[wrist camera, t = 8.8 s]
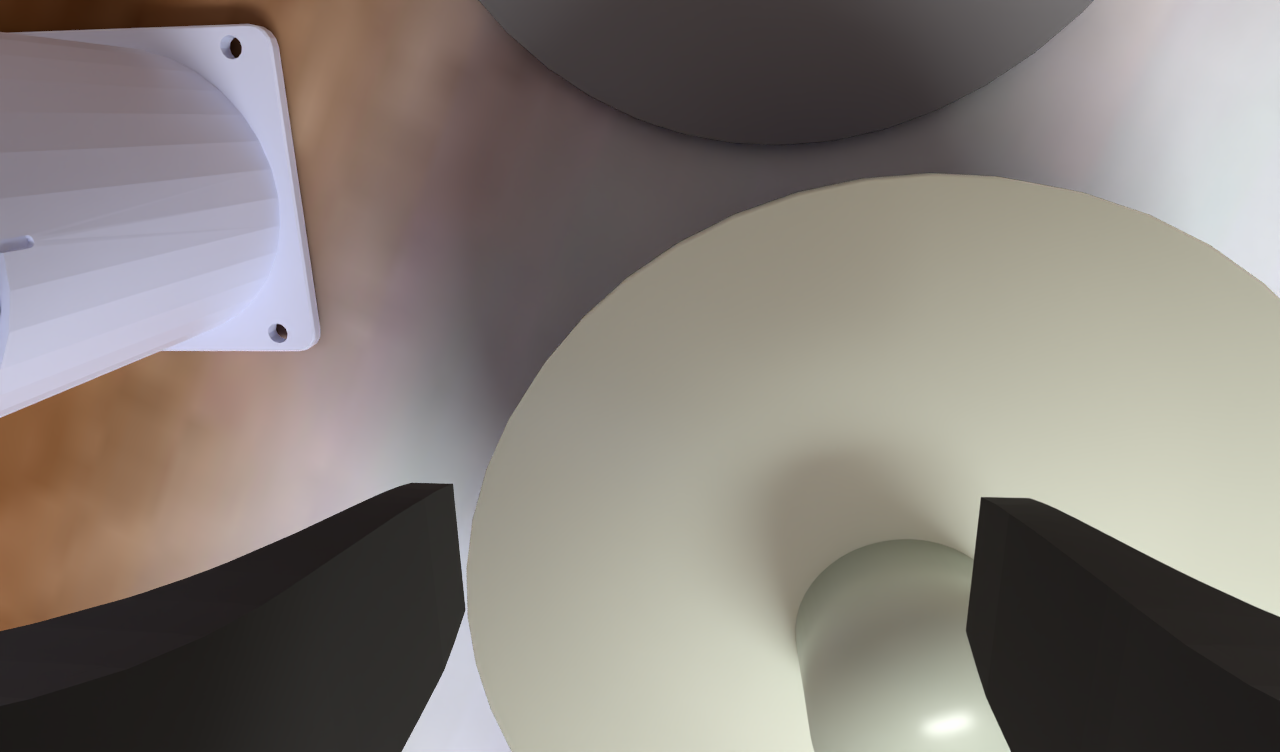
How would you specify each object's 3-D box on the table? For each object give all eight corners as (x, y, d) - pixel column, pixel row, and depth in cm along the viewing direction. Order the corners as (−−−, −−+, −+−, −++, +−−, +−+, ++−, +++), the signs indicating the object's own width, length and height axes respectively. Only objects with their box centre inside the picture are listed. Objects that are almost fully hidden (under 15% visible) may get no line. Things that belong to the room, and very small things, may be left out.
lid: (507, 899, 20) (467, 1047, 16) (439, 180, 14) (363, 197, 11) (1252, 948, 18) (1366, 1123, 15) (1477, 164, 13) (1724, 179, 10)
